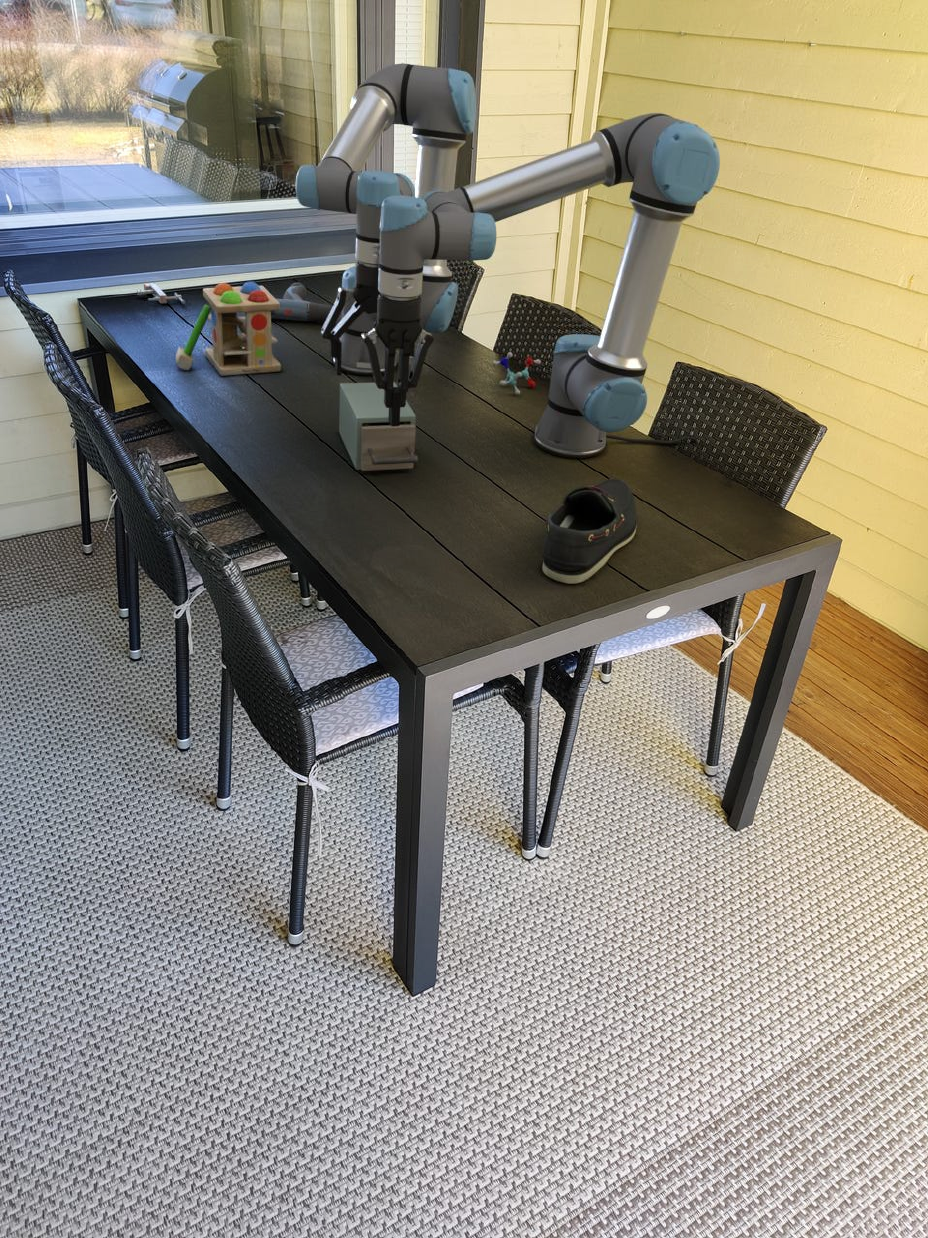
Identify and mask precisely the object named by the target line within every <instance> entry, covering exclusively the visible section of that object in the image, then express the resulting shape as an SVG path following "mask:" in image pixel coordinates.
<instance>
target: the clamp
mask: <svg viewBox="0 0 928 1238" xmlns="http://www.w3.org/2000/svg"><path fill="white" fill-rule="evenodd" d="M136 293H137V296H146V295H153V297H152V298H148V301H149V302H151V301H153V302H156V301H158V302H159V303H160V304H167V303H168V301H171V300H176V301H180V302H181V304H183V305H184V304H185V303H186V300H185V299H183V296H182V295H181V294H178V292H174V294H173V296H167V294H166V293H165V292H164V291H163V290H162V289H161V288H160V287H159V286H158V285H157V284H156V283H144V284H143V289H137V290H136Z"/></svg>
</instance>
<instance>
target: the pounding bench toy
mask: <svg viewBox="0 0 928 1238" xmlns="http://www.w3.org/2000/svg"><path fill="white" fill-rule="evenodd" d="M202 296H203V298H204V299H205V300H206V301H207V302H208V304H209V305H208V304H204V305H203V307H202V309H201V312H200V313H199V316H198V318H197V320H196V322H195V324H194V327H193V329H192V331H191V332H190V333H191V334H190V336H189V338H188V340H187V343H186V344H185V347H184V348H182V347H180V346H179V347H178V349H177V351H176V354H175V357H174V358H175V362H176V365H177V366H178V368H179V369H182V370H185V371H189V370H190V369H191V367H192V365H193V363H194V356H193V351H194V348H195V347H196V345H197V342H198V340H199V337H200V336H201V333H202V332H203V329H204V326H205V325H206V322H207V320H209V321H210V322H211V336H212V337H211V338H212V339H211V340H212V348H205V349H204V352H205V353H204V355H205V357H206V359H208V361H209V363H210V364H211V365H212V366H213V367H214V369H215V370H216V371H217V372H218V374H219V375H220V376H222V377H223V376H234V375H235V376H236V375H246V374H247V375H250V374H262V373H275V372H281V370H282V364H281V363H280V362H279V360H278V359H277V358H276V357H275V356H274V355H273V348H272V347H273V345H272V344H276V343H278V342H279V341H278V339H277V338H276V337H275V336H274V334H272V318H271V310H280V303H279V302H278V301H277V300H276V299H277V298H276V297H274V296H273V295H272V294H271V293H270V292H269V290H268V289H267V288H266V287H264V285H259V284H257V283H256V282H255V281H247V282H245V283H244V284H243V285H242V286H232V285H230V284H229V283H226V282H221V283H218V284H217V285H216V286H215V287H204V288H203V289H202ZM238 313H244V314H245V315H244V316H238ZM238 329H239V331H240V333H239V334H238Z"/></svg>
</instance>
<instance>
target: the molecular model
mask: <svg viewBox="0 0 928 1238" xmlns="http://www.w3.org/2000/svg"><path fill="white" fill-rule="evenodd" d="M512 357H513V353H512V352H510V351H509V352H507V355H506V357H502V358H501V359H500V360H492V361H491V365H492V366H498V365H501V366H503V367H504V368H505V370H506V372H507V374H506V379H505V380H500V381H499V386H501V387H504V386H505V387H506V386H507V385H509V386H511V387H512V388H513V389H514V394H515V396H519V395H521V390H520V389H518V387H517V385H516V384H517V380H518V379H519V378H521V377H522V378H524V379H525V381H526V382H527V383H528V387H529V388H532V389H533V388H535V386H536V381H533V380H532V378H531V376H529V375H530V374H529V371H528V370H529V368H530V365H532V364H536V365H540V364H542V360H541V359H538V358H537V359H533V358H531V357H527V358H526V359H525V363H526V366H525V368H524V370H521V371H517V372H516V373H514V372H513V371H511V370H510V368H509V365H508V362H509V359H510V358H512Z"/></svg>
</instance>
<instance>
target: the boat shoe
mask: <svg viewBox="0 0 928 1238" xmlns="http://www.w3.org/2000/svg"><path fill="white" fill-rule="evenodd" d="M544 524H545V525H544V526H545V529H546V534H545V535H546V536H545V539H544V542H543V548H542V549H543V550H542V551H541V556H542V558H543V562H542V569H541V570H542V572H543V574H544V575H545V576H547V577H548V578H550V579H552V580H555V582H560V583H563V584H567V585H568V584H569V585H571V584H572V585H573V584H580V583H583V582H585V581H587V580H589V579H590V578H591V577H592V576H593V575H595V574H596V573H597V572H598V571H599V570H600V569H601V568H602V567H603V566H605V564H606V563H607V562H608V560H609V559H610V558H611V556H612V555H613V554H614V553H615V552H616V551H618V550H619V549H620V548H622V547H623V546H625V545H626V544H628V543H629V542H630V541H632V540H633V538H634V537H635V534H636V532H637V527H638V515H637V505H636V500H635V496H634V494H633V492H632V490H631V488H630V486H629V485H628V484H627V483H626V482H625V481H623V480H622V479H619V478H608V479H605V480H602V481H600V482H597V483H596V484H594V485H582V486H579V487H576V488H575V489H572V490H570V491H569V492H568V493H567V494H566V495H565V497H563V499H562V501H561V503H560V505H558V506H557V507H556V508H555V509H554V510H553V511H552V512H551V513H550V514H549V515H548V517H547V519H546V520H545V523H544Z"/></svg>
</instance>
